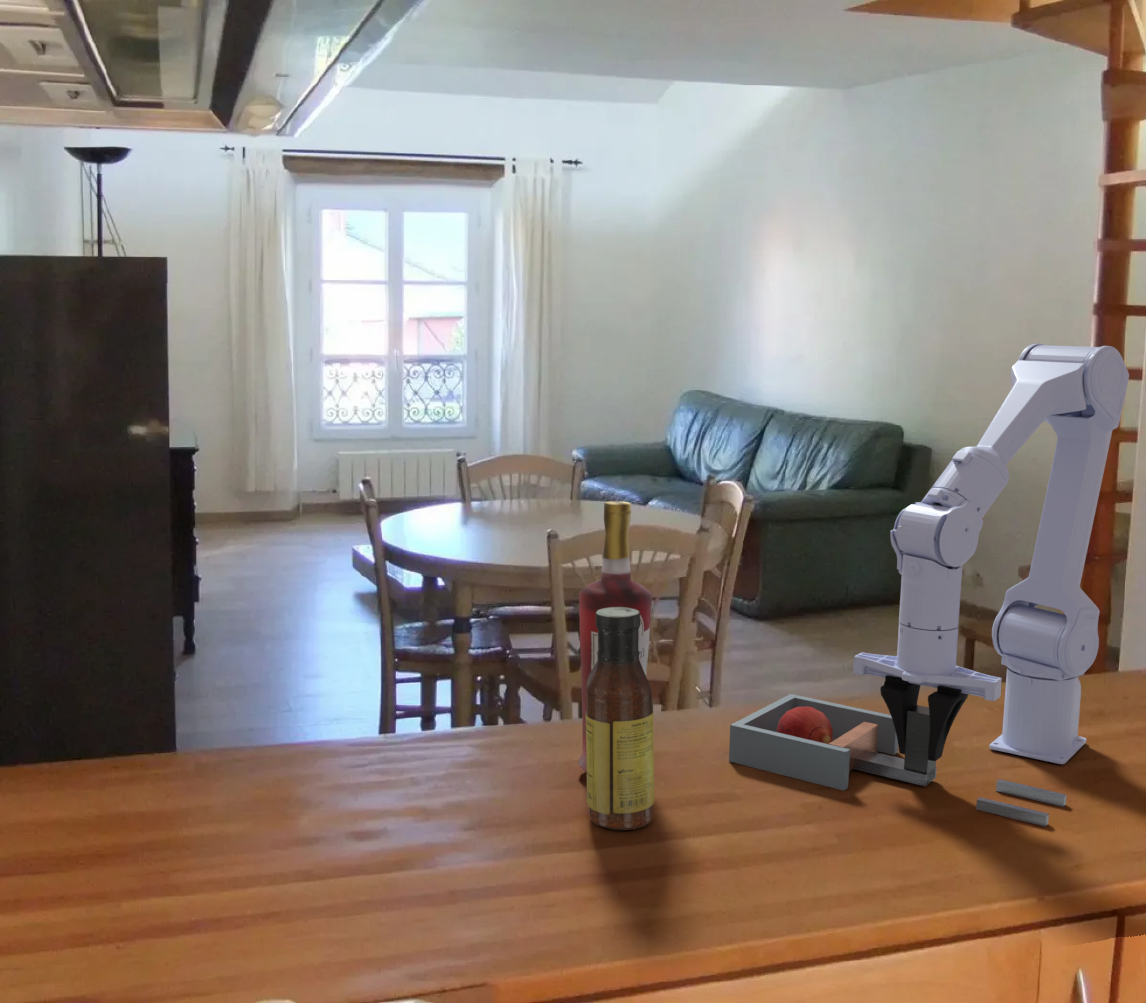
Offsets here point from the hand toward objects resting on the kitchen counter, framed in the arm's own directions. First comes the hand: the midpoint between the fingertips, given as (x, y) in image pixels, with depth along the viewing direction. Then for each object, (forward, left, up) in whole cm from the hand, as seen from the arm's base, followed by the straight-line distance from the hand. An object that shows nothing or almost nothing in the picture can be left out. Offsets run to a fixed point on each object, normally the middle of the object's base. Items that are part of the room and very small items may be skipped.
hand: (920, 754), depth 125 cm
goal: (0, -11, -3) cm, 11 cm away
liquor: (+18, -26, -3) cm, 31 cm away
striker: (0, -3, -3) cm, 4 cm away
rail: (0, +10, -3) cm, 11 cm away
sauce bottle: (+27, -19, -3) cm, 33 cm away
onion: (+4, -9, 0) cm, 9 cm away
